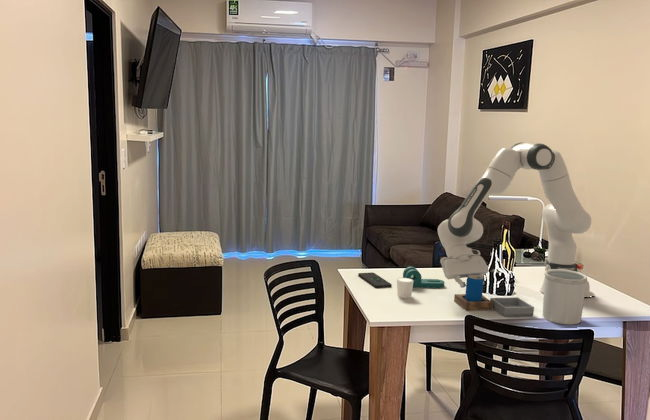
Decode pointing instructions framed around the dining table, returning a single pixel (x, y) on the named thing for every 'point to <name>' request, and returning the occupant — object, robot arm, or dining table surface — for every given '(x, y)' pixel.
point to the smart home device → (374, 280)
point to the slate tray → (512, 307)
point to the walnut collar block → (473, 303)
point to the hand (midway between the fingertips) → (473, 285)
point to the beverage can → (474, 288)
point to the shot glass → (404, 287)
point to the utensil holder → (563, 296)
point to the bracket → (421, 282)
